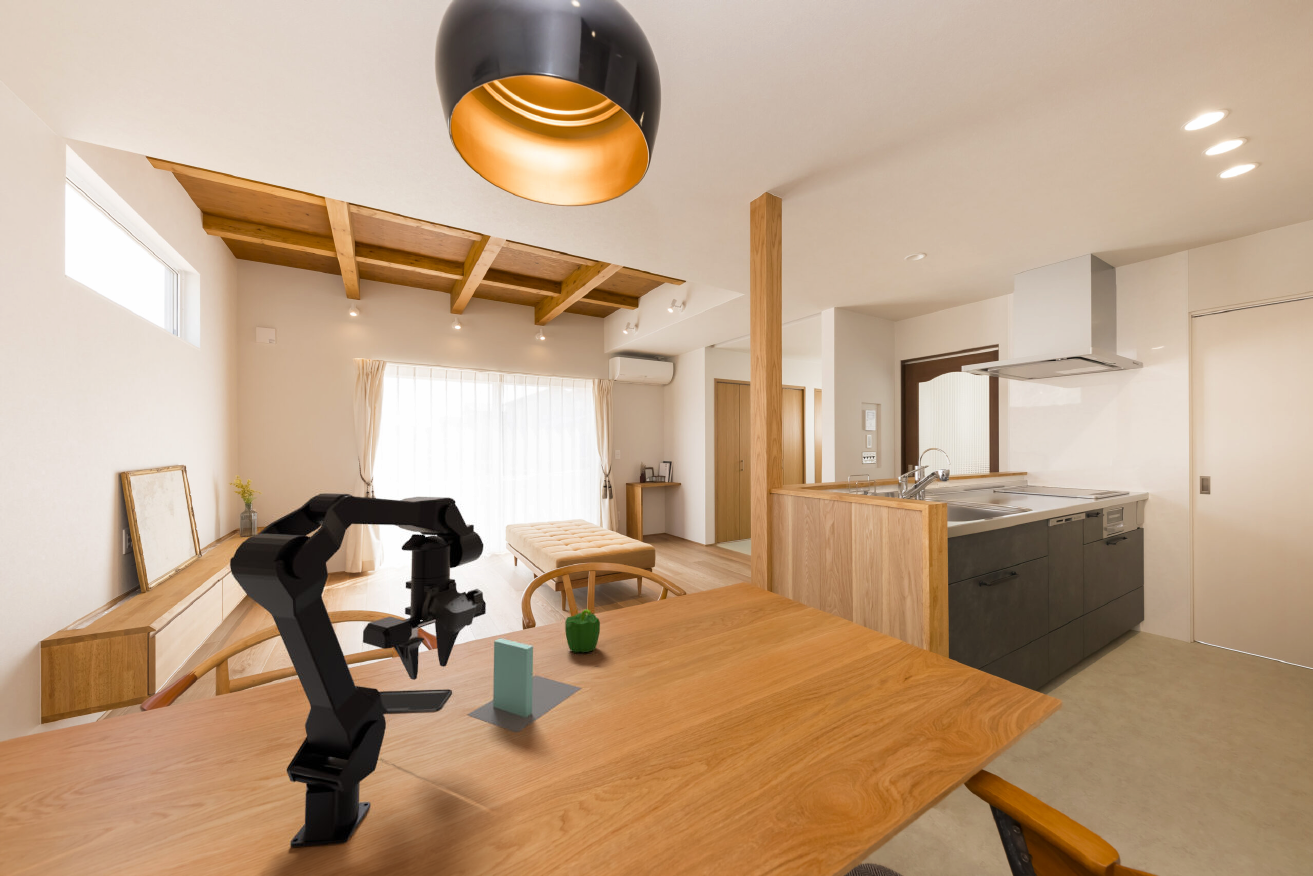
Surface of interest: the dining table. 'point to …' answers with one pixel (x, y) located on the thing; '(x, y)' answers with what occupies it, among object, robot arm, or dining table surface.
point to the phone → (414, 700)
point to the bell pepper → (582, 631)
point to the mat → (543, 700)
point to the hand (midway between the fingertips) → (428, 672)
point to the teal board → (513, 677)
